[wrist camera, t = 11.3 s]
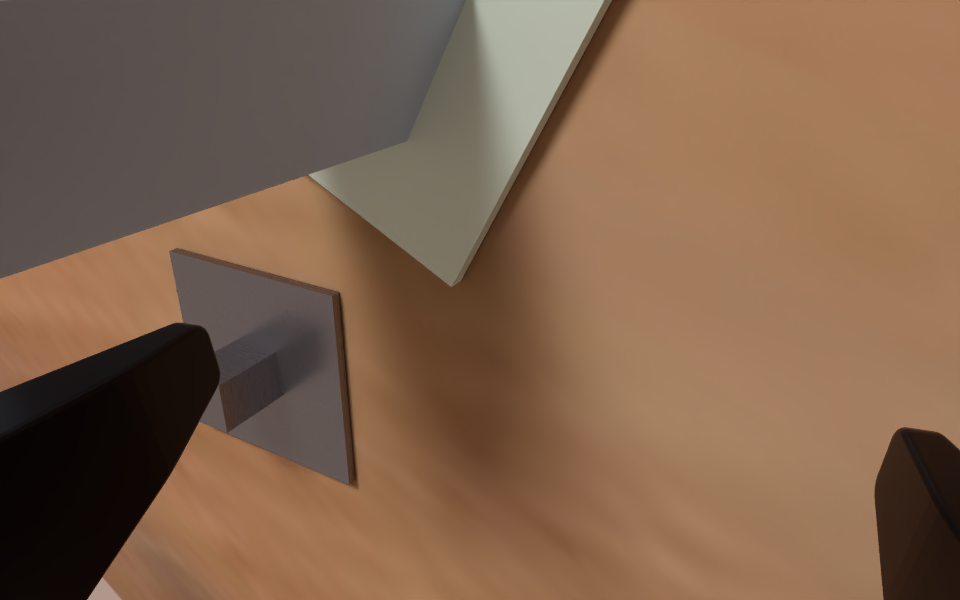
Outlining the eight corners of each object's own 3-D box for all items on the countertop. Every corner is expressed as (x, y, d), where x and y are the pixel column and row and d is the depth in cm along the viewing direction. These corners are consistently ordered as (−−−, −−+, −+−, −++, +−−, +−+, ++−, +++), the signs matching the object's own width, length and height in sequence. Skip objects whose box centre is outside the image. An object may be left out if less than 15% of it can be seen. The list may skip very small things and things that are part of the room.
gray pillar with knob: (472, -15, 19) (-149, 5, 8) (406, 141, 21) (-110, 315, 11) (335, -108, 20) (-392, -209, 9) (290, 53, 22) (-294, 131, 12)
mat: (660, -89, 16) (652, -91, 16) (460, 280, 23) (451, 287, 23) (290, -311, 19) (274, -318, 18) (210, 86, 26) (197, 88, 25)
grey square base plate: (338, 292, 26) (274, 328, 24) (355, 479, 30) (300, 529, 28) (176, 248, 30) (105, 275, 28) (209, 419, 34) (150, 457, 31)
